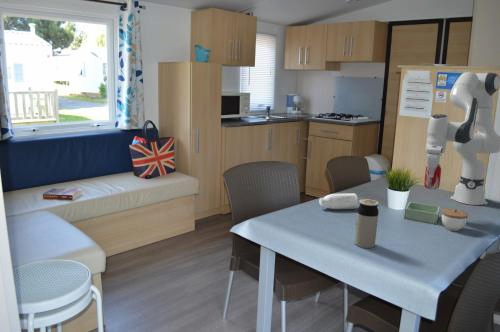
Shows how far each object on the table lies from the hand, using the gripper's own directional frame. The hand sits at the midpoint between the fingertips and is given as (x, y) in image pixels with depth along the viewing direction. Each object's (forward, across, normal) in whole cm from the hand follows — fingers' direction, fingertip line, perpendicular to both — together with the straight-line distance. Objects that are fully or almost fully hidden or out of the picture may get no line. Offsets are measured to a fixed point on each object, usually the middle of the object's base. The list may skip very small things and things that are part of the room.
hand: (432, 176), depth 204 cm
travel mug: (+22, +55, -18) cm, 62 cm away
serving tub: (+20, +3, -2) cm, 21 cm away
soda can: (+6, -1, 0) cm, 6 cm away
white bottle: (+20, +15, -41) cm, 48 cm away
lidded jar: (+21, +12, +12) cm, 27 cm away
